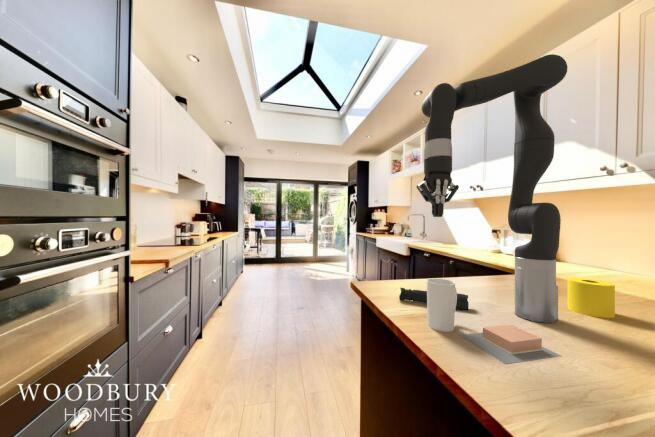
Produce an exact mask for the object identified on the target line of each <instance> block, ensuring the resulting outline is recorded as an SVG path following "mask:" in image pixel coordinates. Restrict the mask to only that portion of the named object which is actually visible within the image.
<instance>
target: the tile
mask: <svg viewBox="0 0 655 437" xmlns="http://www.w3.org/2000/svg"><path fill="white" fill-rule="evenodd" d="M482 333H483V339H485V340H487V341H488V342H490V343H492V344H494V345H495V346H497V347H499V348H501V349H503V350H504V351H506V352H508V353H510V354H518V353H525V352H532V351H540V350H542V347H543V341H542V340H543V338H542V337H540V336H537V335H535V334H532V333H530V332H528V331H526V330H524V329H521V328H519V327H516V326H515V325H512V324H505V325H494V326H488V327H487V326H485V327H482Z"/></svg>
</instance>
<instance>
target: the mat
mask: <svg viewBox="0 0 655 437" xmlns="http://www.w3.org/2000/svg"><path fill="white" fill-rule="evenodd" d="M458 336H459V337H461V338H463V340H464V339H465V340H466V341H467V342H469V343H471V344H472V345H474V346H475V347H477V348H478V349H481V350H482V351H484V353H487V354H488V355H490V356H492V357H493V358H495V359H497V360H498V361H500V362H502V363H503V364H505V365H509V364H510V365H511V364H516V363H522V362H529V361H536V360H542V359H548V358H549V359H550V358H551V359H552V358H555V357H562V355H560V354H558V353H557V352H555V351H552V350H551V349H548V348H546V347H544V346H542V350H540V351H532V352H525V353H518V354H510V353H508V352H506V351H504V350H503V349H501V348H499V347H497V346H495V345H494V344H492V343H490V342H488V341H487V340H485V339H483V332H477V333H476V332H475V333H468V334H467V333H465V334H459V335H458Z"/></svg>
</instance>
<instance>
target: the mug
mask: <svg viewBox="0 0 655 437" xmlns="http://www.w3.org/2000/svg"><path fill="white" fill-rule="evenodd" d="M426 291H427V303H426V314H427V316H426V317H427V326H428V327H429V328H431V329H432V330H436V331H438V332H447V333H449V332H452V331H454V329H455V317H456V316H455V313H456V310H457V309H456V303H457V288H456V282H455V281H452V280H451V279H450V280H449V279H445V278H434V277H433V278H428V279H427V280H426Z"/></svg>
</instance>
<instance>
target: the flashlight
mask: <svg viewBox="0 0 655 437" xmlns="http://www.w3.org/2000/svg"><path fill="white" fill-rule="evenodd" d="M399 289H400V294H399V296H398V297H399V300H400V301H412V302H416V303H422V304H423V303H424V304H427V290H420V289H413V290H412V289H411V288H410V289H407V288H404V287H399ZM468 299H469V295H468V294H464V293H457V303H456V309H455V310H456V311H457V310H458V311H469V301H468Z"/></svg>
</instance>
